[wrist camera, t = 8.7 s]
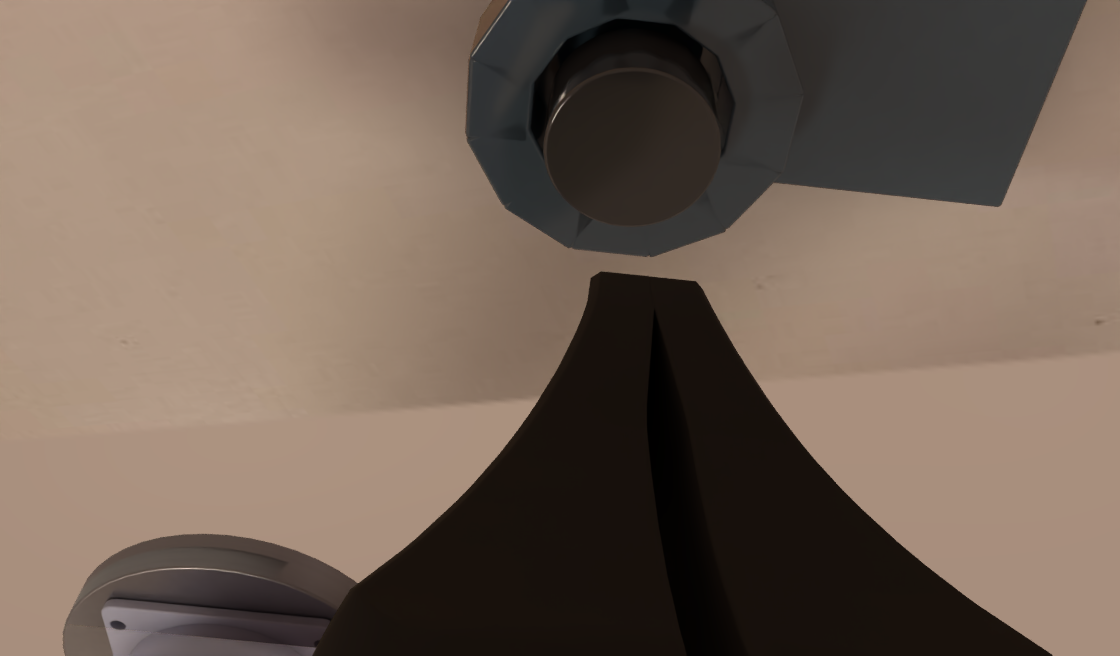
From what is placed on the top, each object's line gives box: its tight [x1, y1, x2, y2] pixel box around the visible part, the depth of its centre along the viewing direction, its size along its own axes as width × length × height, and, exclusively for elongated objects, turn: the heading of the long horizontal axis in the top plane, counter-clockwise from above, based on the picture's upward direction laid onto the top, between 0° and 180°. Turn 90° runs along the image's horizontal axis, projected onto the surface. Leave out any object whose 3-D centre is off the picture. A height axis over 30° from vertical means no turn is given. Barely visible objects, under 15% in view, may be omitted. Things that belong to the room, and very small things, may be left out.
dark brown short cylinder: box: [543, 28, 721, 227], centre depth 18 cm, size 3×3×2 cm
